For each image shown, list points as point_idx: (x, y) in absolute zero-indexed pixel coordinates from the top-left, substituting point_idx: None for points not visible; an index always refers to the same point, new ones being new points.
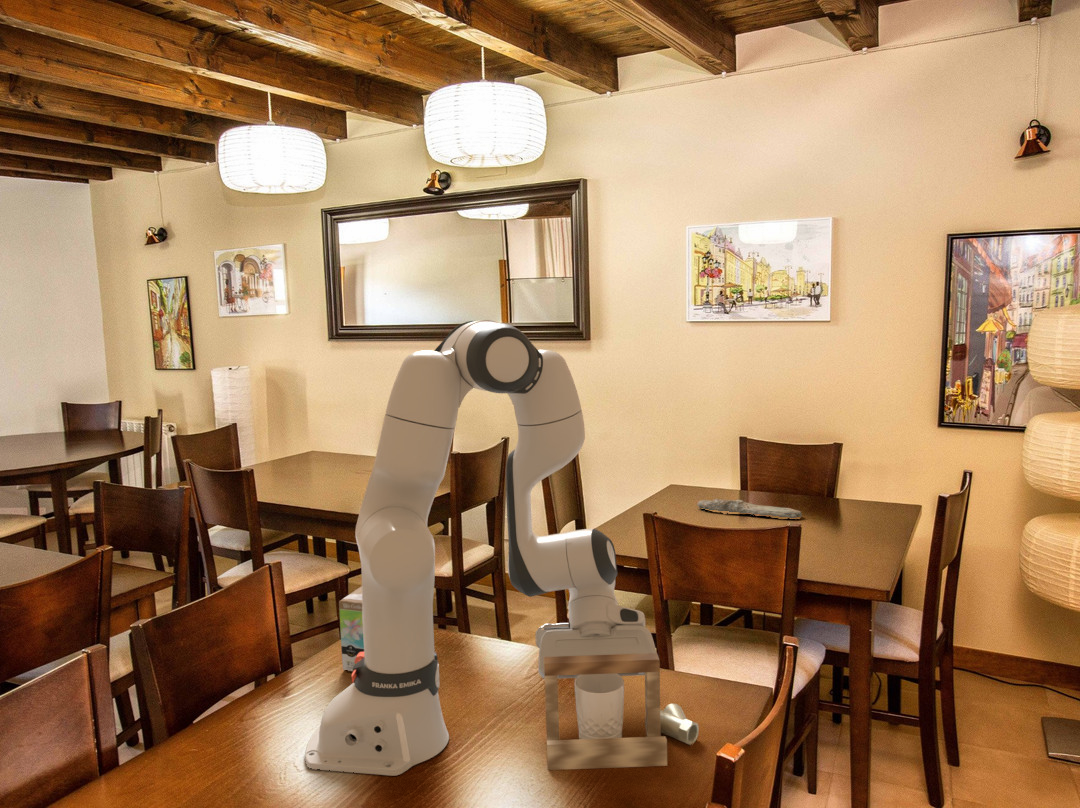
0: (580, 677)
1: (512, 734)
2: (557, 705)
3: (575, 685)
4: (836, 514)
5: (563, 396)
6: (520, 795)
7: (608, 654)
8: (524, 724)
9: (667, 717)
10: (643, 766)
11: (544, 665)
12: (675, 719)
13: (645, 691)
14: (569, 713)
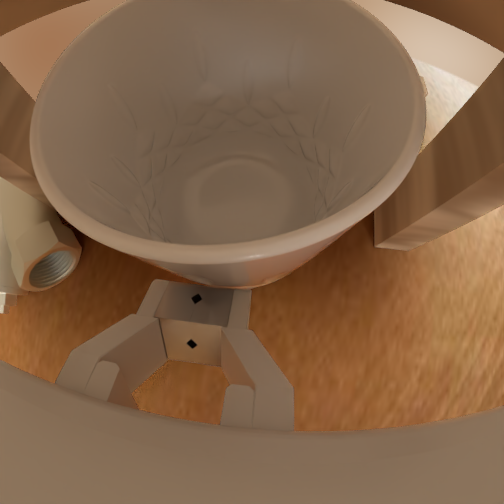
0: (377, 182)
1: (483, 299)
2: (448, 127)
3: (406, 51)
4: None
5: None
6: (429, 71)
7: (14, 492)
8: (456, 353)
9: (18, 199)
10: None
11: None
12: (9, 182)
13: (5, 142)
14: (316, 417)
